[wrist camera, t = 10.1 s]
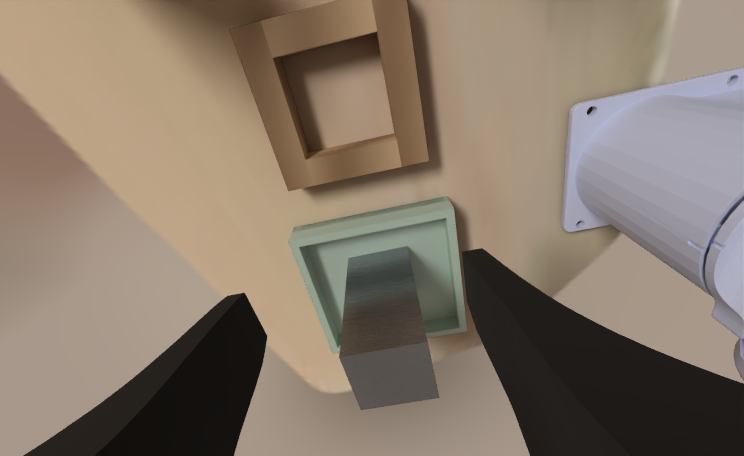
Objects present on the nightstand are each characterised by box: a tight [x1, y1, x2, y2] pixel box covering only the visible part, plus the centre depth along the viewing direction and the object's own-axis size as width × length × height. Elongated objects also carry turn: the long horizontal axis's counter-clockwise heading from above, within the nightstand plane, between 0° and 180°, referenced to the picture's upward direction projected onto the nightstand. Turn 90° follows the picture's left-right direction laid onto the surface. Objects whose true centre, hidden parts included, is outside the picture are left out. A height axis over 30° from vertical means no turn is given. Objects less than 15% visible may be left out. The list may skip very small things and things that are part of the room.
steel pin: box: [339, 246, 439, 410], centre depth 19 cm, size 4×4×8 cm
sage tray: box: [288, 197, 467, 354], centre depth 22 cm, size 10×10×2 cm
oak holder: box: [229, 0, 429, 191], centre depth 17 cm, size 8×8×2 cm
